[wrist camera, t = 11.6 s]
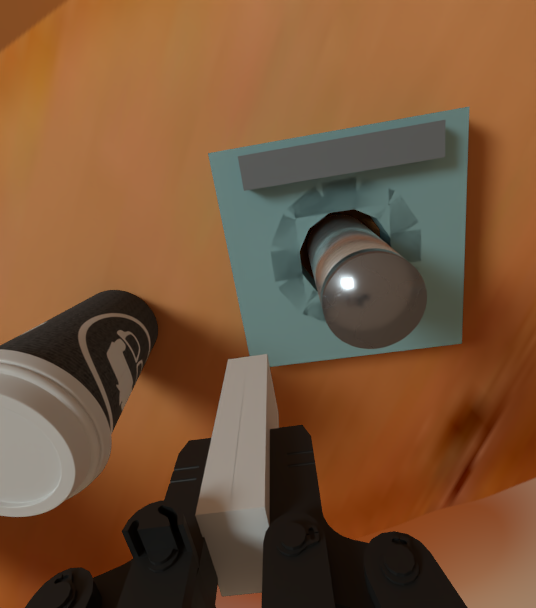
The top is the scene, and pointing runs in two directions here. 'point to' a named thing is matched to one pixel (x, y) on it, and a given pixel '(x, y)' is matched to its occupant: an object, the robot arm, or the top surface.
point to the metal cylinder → (364, 284)
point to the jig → (340, 197)
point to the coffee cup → (67, 398)
